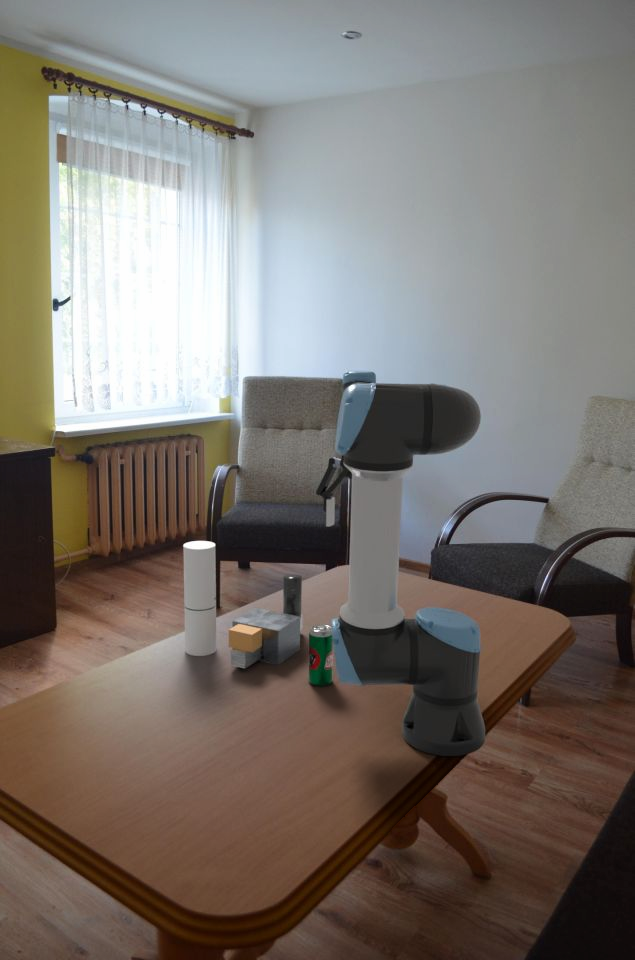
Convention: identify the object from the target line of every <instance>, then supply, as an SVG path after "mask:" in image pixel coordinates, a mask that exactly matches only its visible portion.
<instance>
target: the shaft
mask: <svg viewBox="0 0 635 960" xmlns="http://www.w3.org/2000/svg"><path fill="white" fill-rule="evenodd" d="M282 581H283V583H282V585H283V587H282V590H283V593H282V594H283V595H282V598H283V599H282V600H283V601H282V609H283V610H282V613H284V614H289V615H294V616H299V617H300V632H301V631H302V630H303V625H304V624H303V621H304V615H303V614H302V595H303V594H302V593H303V592H302V590H303V589H302V585H303V584H302V583H303V578H302V575H300V574H293V573H292V574H291V573H289V574H285V575H283V579H282ZM263 656H264V641H263V640H262V646H261V647H260V648H258V649H257V650H255V651H254V652H248V651H244V650H240V649H235V648H231V649H230V666H233V667H237V668H241V669H246V668H248V667H250V666H252V664H254V663H256V662H257V661H259V660H258V659H260V658H261V657H263Z"/></svg>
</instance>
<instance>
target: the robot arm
mask: <svg viewBox="0 0 635 960" xmlns="http://www.w3.org/2000/svg"><path fill="white" fill-rule="evenodd" d="M341 388H342V397H341V400H340V406H339V411H338V416H337V423H336V434H335V440H334V443H335V444H334V448H335V449H334V450H335V453H336V454H338V455H340V456H341V458H339V457H337V456H334V457H330V458H329V459H328V463H327V465H328V466H327V468H326V470H325V473H324V475H323V476H322V479H321V480H320V483H319V485H318V487H317V489H316V491H315V493H316V496H320V497H321V498H322V499H323V512H326V515H325V516H326V517H325V519H326V520H325V527H332V526H334V525H335V515H336V514H335V512H336V511H335V506H336V504H335V503H336V497H333V496H334V494H335V493H336V492H337V491H338V489H339V488H340V487H341V486H342V485H343V484H344V482H345V481H346V480H347V479H349V480H351V496H350V498H351V501H350V503H351V504H350V527H349V528H350V533H349V534H350V536H349V541H350V542H349V566H348V567H349V568H348V569H349V571H348V597H347V598H348V601H347V602H346V603H344V604H343V605H342V606H341V607H340V608H339V617H335V618H332V619H331V621H330V623H331V625H330V627H331V628H332V636H333V655H334V659H335V660H334V661H335V668H336V669H335V670H336V676H337V678H338V680H339V681H340V682H341V683H343V684H345V685H359V686H361V687H362V686H363V687H364V686H365V685H366V686H367V685H368V686H370V685H371V686H372V685H373V686H375V685H376V686H382V685H383V686H386V685H387V686H388V685H389V686H403V685H404V686H405V685H406V686H411V685H412V694H411V697H410V699H409V702H408V704H407V707H406V709H405V712H404V714H403V717H402V721H401V735H402V737H403V740H404V741H405V742H407V744H408V745H410V746H411V747H412V748H415V749H416V750H419V751H421V752H424V753H426V754H431V755H435V756H443V757H460V756H465V755H469V754H473V753H474V752H476V751H478V750H480V749H481V748H482V747H483V746H484V744H485V740H486V726H485V722H484V718H483V715H482V712H481V711H482V710H481V708H480V704H479V701H478V693H479V692H478V690H479V673H480V656H481V651H482V643H481V630H480V627H479V624H478V622H476V621H475V620H474V619H473V618H471V617H470V616H468V615H466V614H464V613H462V612H459V611H457V610H454V609H449V608H444V607H435V606H434V607H433V606H429V607H425V608H424V607H423V608H419V609H418V610H417V611H416V612H415V615H414V618H406V614H405V610H404V608H402V607H401V606H400V605H399V604H398V587H399V566H400V565H399V563H400V545H401V543H400V542H401V524H402V523H401V520H402V502H403V501H402V500H403V499H402V498H403V480H404V478H403V477H404V475H405V474H406V473H408V472H409V471H410V470H411V469H412V468H413V467H414V466H413V463H414V456H416V455H417V456H419V455H420V456H423V455H424V456H426V455H441V454H445V453H449V452H452V451H455V450H457V449H459V448H461V447H463V446H465V444H467V443H469V442H470V440H472V439H473V437H474V436H475V435H476V434H477V432H478V430H479V429H480V424H481V419H482V416H481V415H482V414H481V408H480V406H479V404H478V402H477V400H476V399H475V398H474V396H473V395H471V394H470V393H469V392H467V391H465V390H462V389H459V388H456V387H452V386H448V385H446V384H441V383H440V384H439V383H383V382H381V383H377V375H376V373H375V372H374V371H370V370H348V371H345V372H344V373H343V376H342V385H341ZM338 467H341V470H342V471H341V472H340V473H339V475H338V476H337V478H336V479H335V480H334V481H333V482H332V483H331V481H332V479H333V477H334V475H335V473H336V471H337V469H338ZM330 483H331V484H330ZM329 485H330V486H329Z"/></svg>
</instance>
